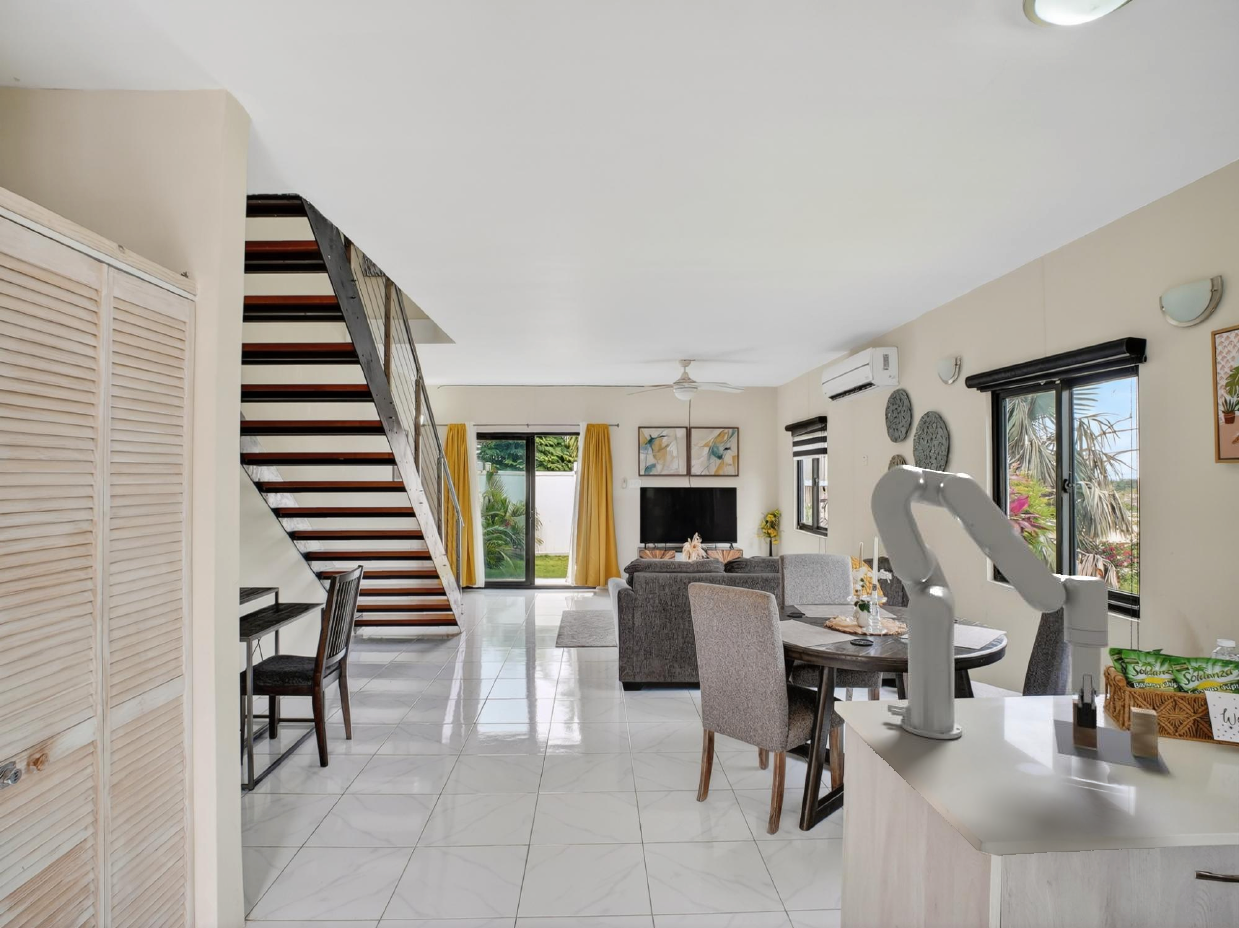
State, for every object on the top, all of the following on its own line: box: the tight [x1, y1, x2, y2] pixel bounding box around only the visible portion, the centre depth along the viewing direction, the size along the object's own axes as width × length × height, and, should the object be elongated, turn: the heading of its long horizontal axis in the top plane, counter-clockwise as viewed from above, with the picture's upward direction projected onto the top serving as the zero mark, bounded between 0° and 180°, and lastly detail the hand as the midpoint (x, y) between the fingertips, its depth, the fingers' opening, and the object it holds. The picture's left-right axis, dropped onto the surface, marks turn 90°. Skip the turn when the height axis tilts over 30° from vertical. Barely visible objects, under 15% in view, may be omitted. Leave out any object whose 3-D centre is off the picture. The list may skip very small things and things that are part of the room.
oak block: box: [1129, 706, 1159, 761], centre depth 138 cm, size 4×4×9 cm
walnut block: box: [1072, 698, 1098, 750], centre depth 143 cm, size 4×4×9 cm
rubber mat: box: [1053, 718, 1171, 774], centre depth 145 cm, size 18×24×1 cm
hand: (1086, 726), depth 140 cm, fingers closed
